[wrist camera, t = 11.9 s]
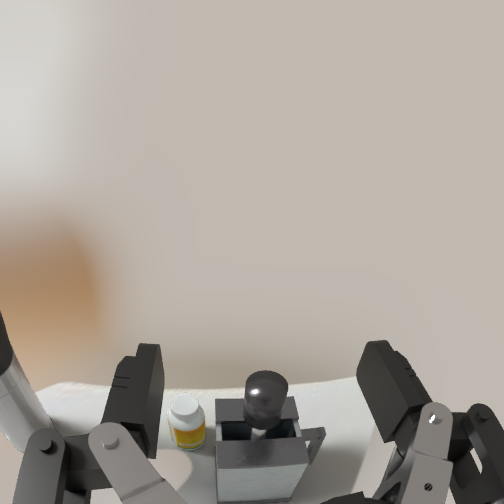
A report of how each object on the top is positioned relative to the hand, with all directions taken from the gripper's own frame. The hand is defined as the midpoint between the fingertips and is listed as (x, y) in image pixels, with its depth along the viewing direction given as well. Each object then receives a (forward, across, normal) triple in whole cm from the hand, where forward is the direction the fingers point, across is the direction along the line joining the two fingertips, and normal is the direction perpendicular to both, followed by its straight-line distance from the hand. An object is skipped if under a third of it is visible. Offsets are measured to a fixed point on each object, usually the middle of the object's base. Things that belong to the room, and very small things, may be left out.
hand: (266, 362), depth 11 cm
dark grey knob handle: (+11, -3, +32) cm, 34 cm away
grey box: (+11, -5, +36) cm, 38 cm away
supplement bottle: (+18, +6, +36) cm, 41 cm away
